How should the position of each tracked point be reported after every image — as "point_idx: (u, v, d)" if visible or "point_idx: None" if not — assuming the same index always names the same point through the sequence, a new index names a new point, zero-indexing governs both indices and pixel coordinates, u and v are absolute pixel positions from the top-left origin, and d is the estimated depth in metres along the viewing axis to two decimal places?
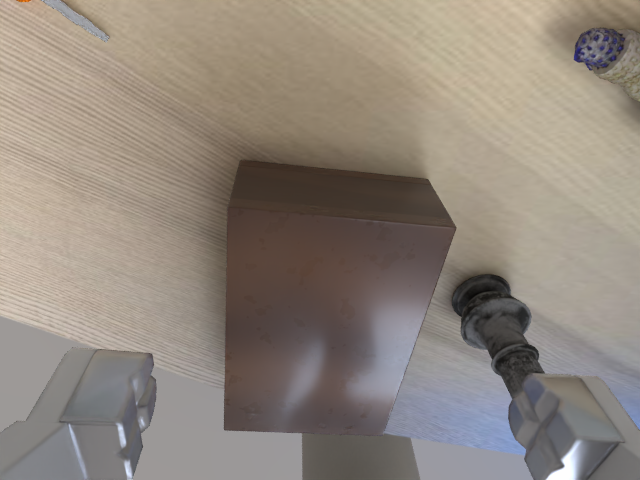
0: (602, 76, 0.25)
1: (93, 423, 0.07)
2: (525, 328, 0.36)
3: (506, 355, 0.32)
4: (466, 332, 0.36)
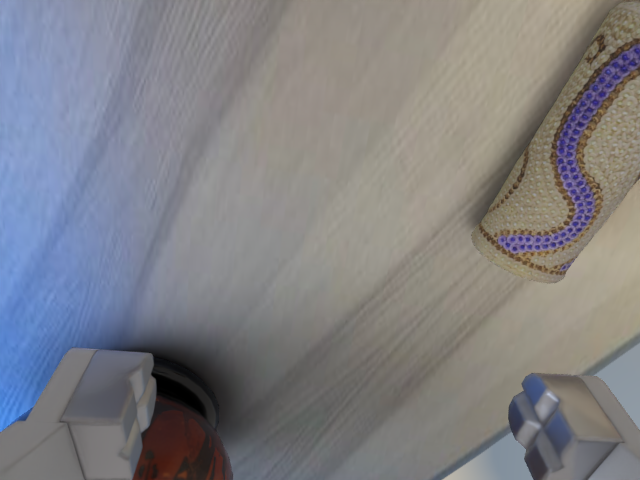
0: None
1: (93, 423, 0.07)
2: None
3: None
4: None
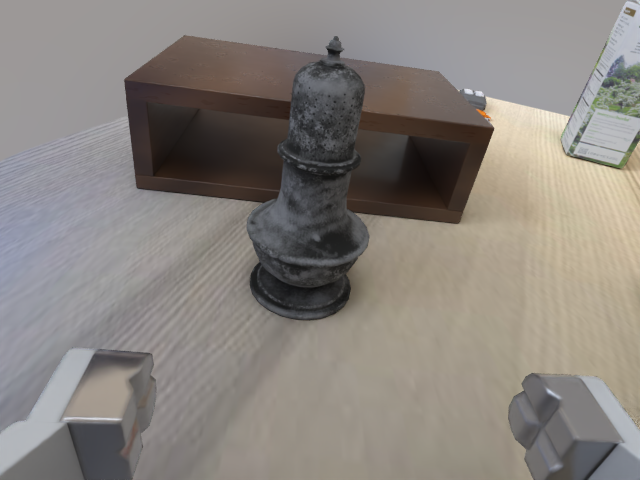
0: None
1: (93, 423, 0.07)
2: (307, 257, 0.18)
3: None
4: None
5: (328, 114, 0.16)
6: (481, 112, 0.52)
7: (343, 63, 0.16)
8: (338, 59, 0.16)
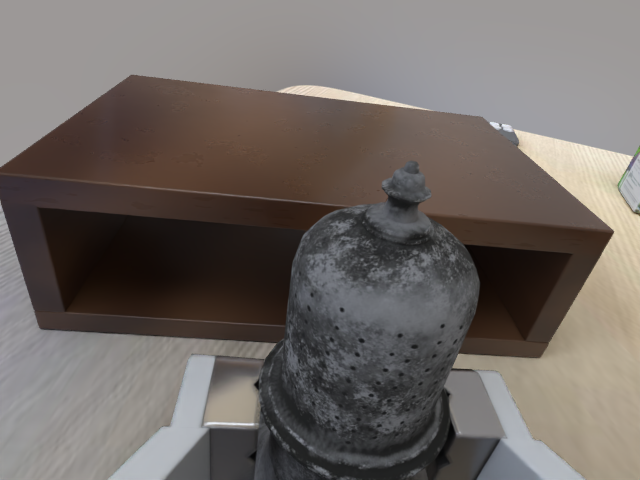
0: None
1: (231, 428, 0.07)
2: None
3: None
4: None
5: (395, 370, 0.06)
6: None
7: (429, 227, 0.06)
8: (416, 217, 0.06)
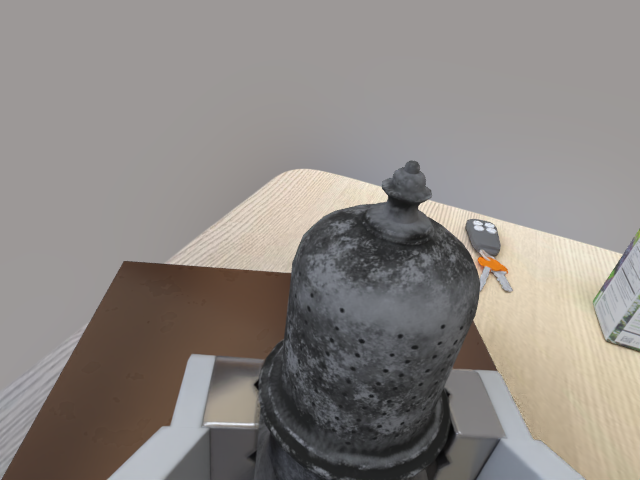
0: None
1: (231, 428, 0.07)
2: None
3: None
4: None
5: (395, 371, 0.06)
6: (496, 264, 0.44)
7: (429, 227, 0.06)
8: (416, 217, 0.06)
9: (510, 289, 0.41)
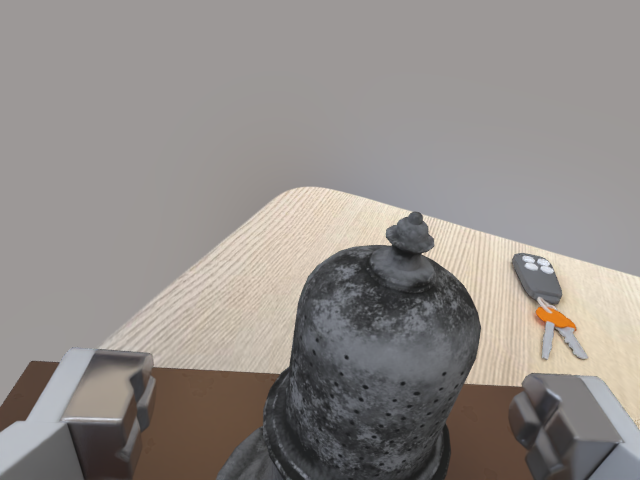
0: None
1: (93, 423, 0.07)
2: None
3: None
4: None
5: (397, 415, 0.06)
6: (561, 318, 0.34)
7: (431, 274, 0.06)
8: (419, 264, 0.06)
9: (585, 356, 0.31)
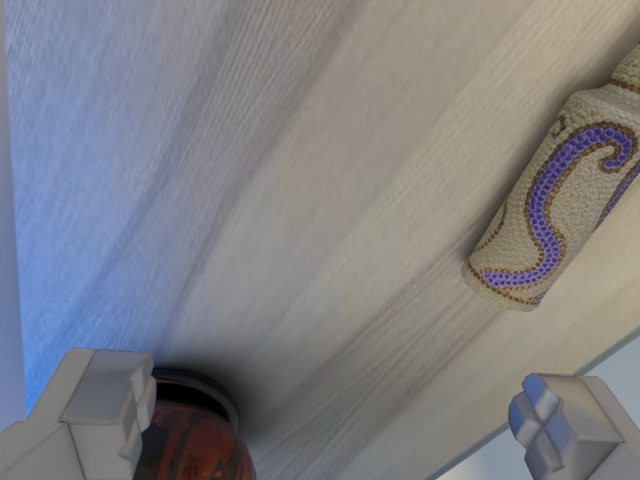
0: None
1: (93, 423, 0.07)
2: None
3: None
4: None
5: None
6: None
7: None
8: None
9: None
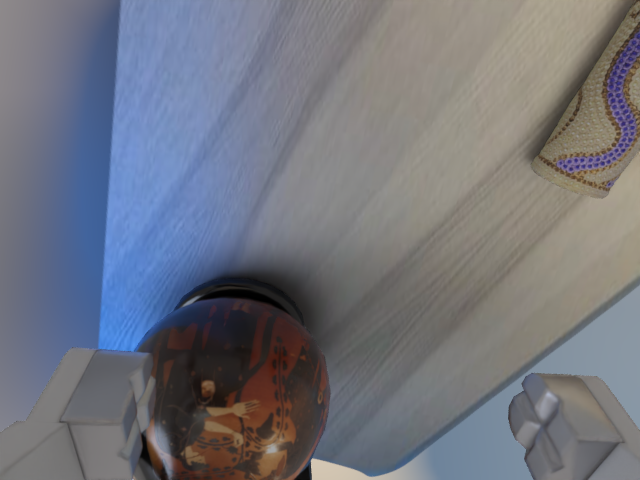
0: None
1: (93, 423, 0.07)
2: None
3: None
4: None
5: None
6: None
7: None
8: None
9: None
